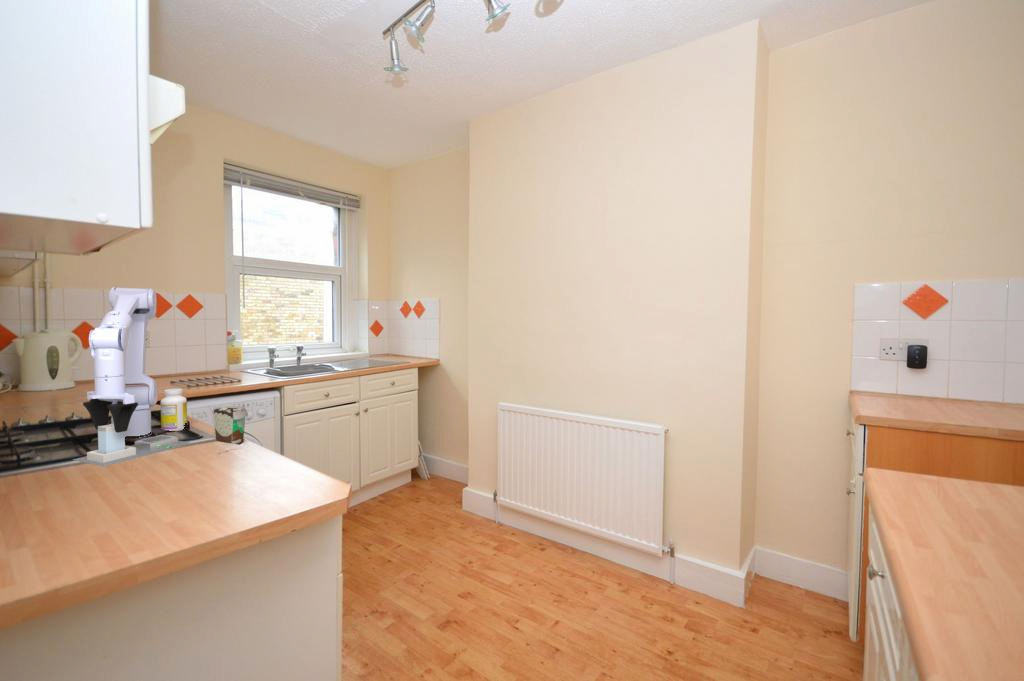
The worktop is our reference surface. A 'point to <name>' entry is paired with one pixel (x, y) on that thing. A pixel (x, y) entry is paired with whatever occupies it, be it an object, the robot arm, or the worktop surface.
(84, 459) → the panel
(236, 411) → the food container
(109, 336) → the robot arm
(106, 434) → the plug
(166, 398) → the supplement bottle
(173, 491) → the worktop surface
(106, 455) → the frame
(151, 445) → the port
